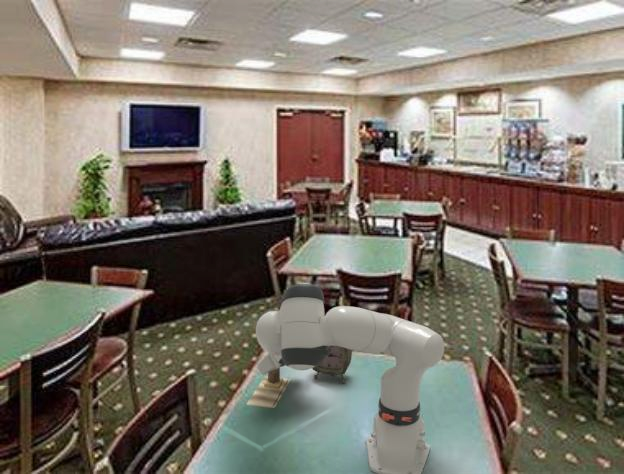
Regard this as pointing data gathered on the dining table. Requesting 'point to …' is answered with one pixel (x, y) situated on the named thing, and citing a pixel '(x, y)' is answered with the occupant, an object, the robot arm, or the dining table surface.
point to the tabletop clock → (335, 362)
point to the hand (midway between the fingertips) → (272, 368)
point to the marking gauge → (274, 379)
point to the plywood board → (267, 394)
